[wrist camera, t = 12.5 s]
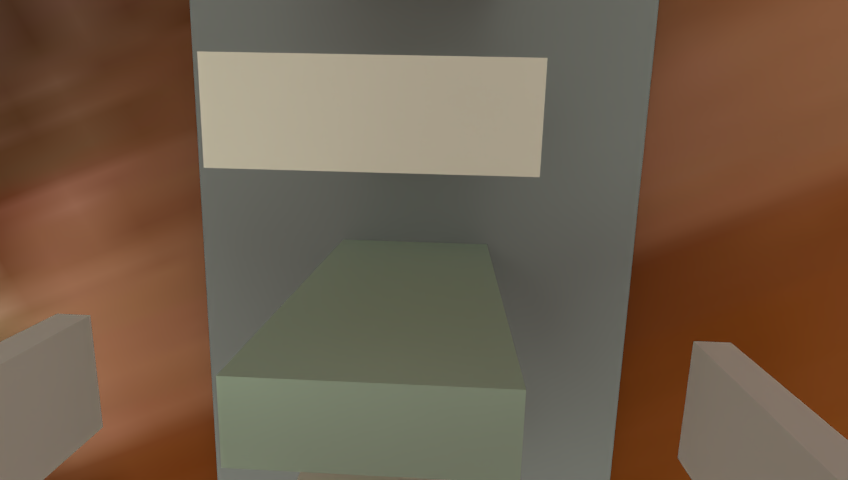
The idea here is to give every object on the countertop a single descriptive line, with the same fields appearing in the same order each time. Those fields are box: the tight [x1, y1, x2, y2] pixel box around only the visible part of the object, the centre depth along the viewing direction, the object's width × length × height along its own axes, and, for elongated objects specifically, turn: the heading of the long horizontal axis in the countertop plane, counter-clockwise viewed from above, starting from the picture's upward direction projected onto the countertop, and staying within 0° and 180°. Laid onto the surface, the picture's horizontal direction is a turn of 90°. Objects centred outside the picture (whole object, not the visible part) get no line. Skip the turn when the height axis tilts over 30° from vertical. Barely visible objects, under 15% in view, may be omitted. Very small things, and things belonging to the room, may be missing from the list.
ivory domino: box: [197, 51, 548, 177], centre depth 16 cm, size 6×2×13 cm, turn 89°
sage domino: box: [216, 240, 526, 480], centre depth 17 cm, size 6×2×13 cm, turn 89°
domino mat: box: [190, 0, 659, 480], centre depth 23 cm, size 18×38×1 cm, turn 179°
